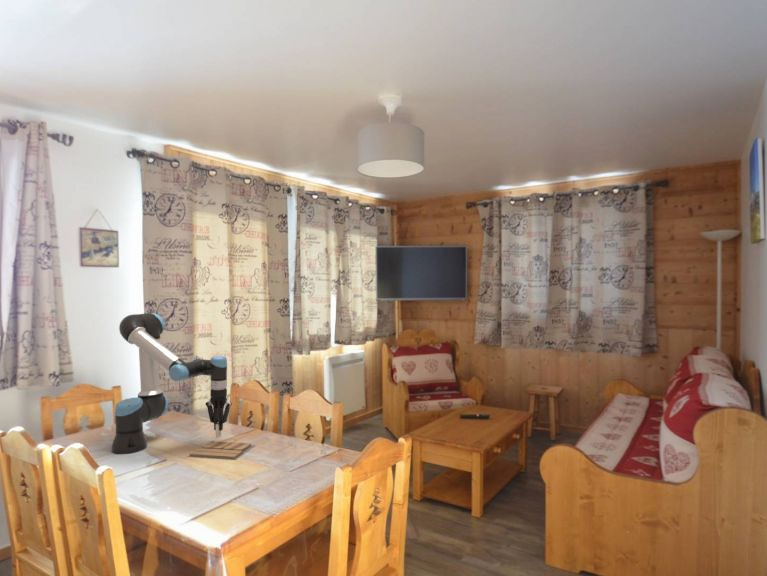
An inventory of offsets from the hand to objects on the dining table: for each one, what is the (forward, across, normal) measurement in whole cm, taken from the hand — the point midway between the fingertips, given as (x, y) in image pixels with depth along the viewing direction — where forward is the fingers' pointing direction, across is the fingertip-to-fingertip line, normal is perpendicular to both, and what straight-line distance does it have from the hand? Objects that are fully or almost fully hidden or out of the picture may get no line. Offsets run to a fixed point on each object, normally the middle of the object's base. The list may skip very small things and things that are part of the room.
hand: (218, 436), depth 234 cm
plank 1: (+4, +1, -3) cm, 5 cm away
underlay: (+5, +6, -7) cm, 10 cm away
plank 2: (+4, +11, -3) cm, 12 cm away
